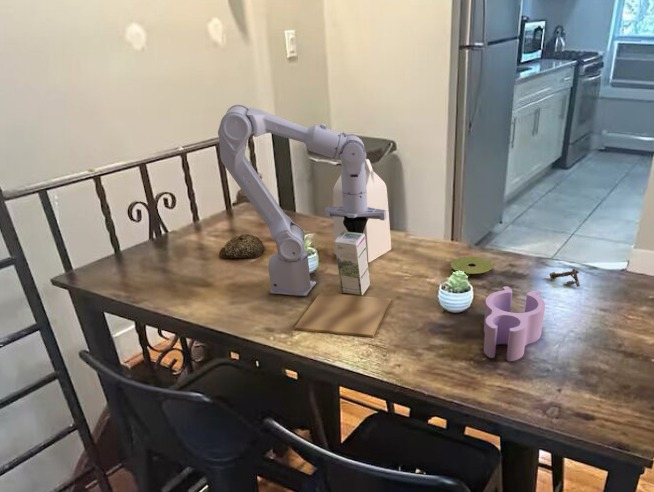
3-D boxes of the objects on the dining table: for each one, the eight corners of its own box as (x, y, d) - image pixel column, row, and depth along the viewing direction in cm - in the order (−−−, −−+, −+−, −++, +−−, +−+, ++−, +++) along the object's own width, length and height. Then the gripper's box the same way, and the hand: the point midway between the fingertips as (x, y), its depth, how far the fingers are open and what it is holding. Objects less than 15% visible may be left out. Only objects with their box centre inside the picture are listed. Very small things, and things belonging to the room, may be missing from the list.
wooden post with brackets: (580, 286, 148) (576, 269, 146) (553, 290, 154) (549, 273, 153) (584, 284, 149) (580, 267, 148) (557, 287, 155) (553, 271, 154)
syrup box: (370, 284, 151) (365, 232, 142) (362, 297, 147) (356, 243, 137) (349, 281, 152) (343, 229, 143) (340, 293, 148) (333, 241, 139)
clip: (530, 365, 120) (534, 334, 116) (470, 354, 123) (471, 324, 120) (546, 320, 135) (549, 292, 132) (491, 311, 139) (494, 284, 135)
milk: (391, 249, 173) (389, 156, 159) (368, 262, 164) (364, 166, 151) (357, 241, 178) (353, 151, 164) (333, 254, 170) (326, 160, 156)
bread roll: (260, 260, 167) (257, 243, 164) (216, 260, 167) (213, 243, 165) (269, 243, 178) (267, 227, 175) (228, 243, 178) (225, 227, 176)
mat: (481, 283, 152) (482, 276, 151) (442, 274, 157) (442, 267, 156) (499, 268, 160) (500, 261, 159) (461, 259, 165) (462, 253, 164)
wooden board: (294, 329, 133) (294, 327, 133) (320, 294, 148) (320, 292, 148) (372, 337, 130) (372, 334, 129) (391, 300, 145) (391, 298, 144)
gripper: (319, 194, 138) (324, 250, 145) (380, 197, 135) (382, 254, 142) (328, 185, 143) (332, 239, 151) (387, 188, 141) (388, 243, 148)
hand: (357, 246), depth 147 cm, fingers closed
